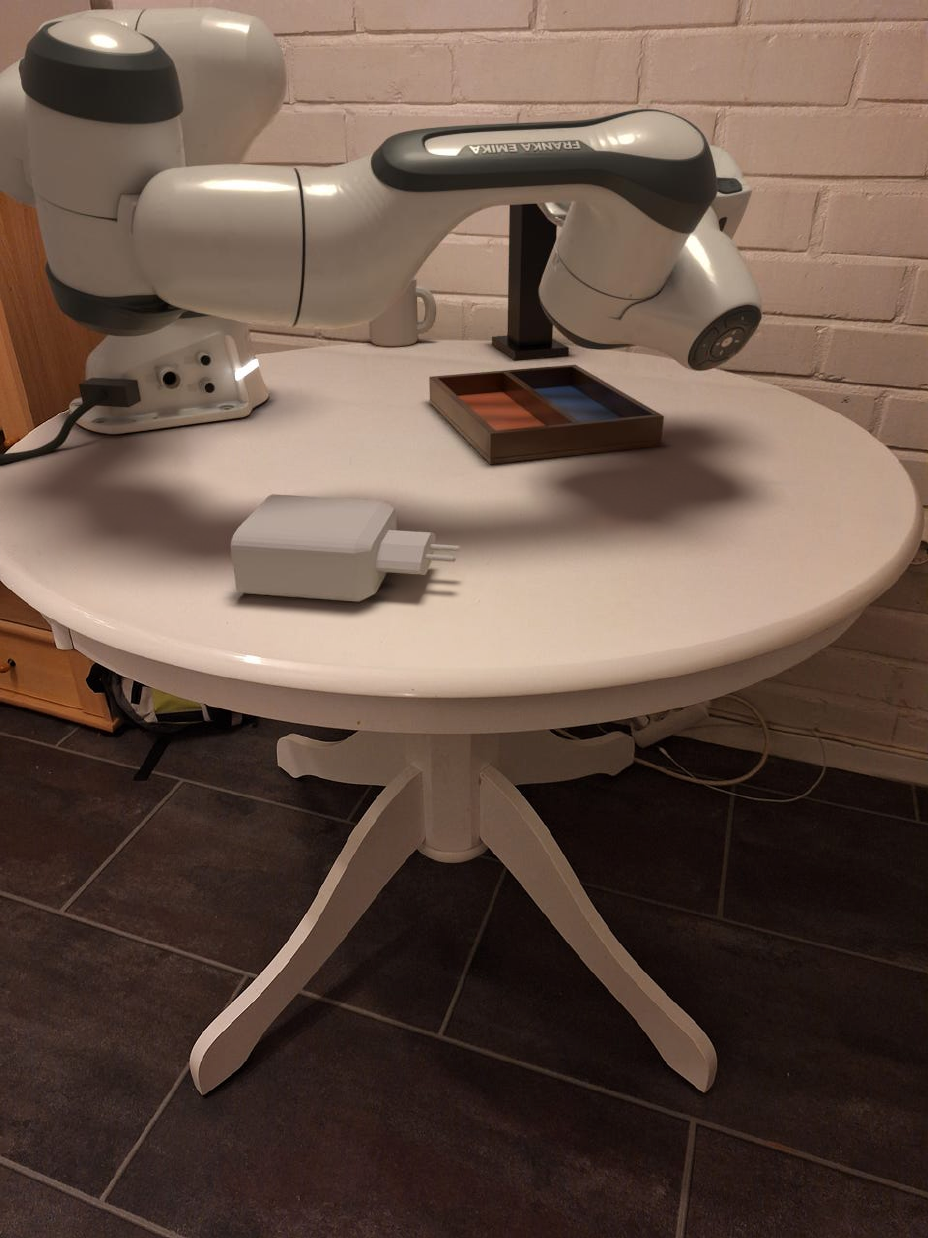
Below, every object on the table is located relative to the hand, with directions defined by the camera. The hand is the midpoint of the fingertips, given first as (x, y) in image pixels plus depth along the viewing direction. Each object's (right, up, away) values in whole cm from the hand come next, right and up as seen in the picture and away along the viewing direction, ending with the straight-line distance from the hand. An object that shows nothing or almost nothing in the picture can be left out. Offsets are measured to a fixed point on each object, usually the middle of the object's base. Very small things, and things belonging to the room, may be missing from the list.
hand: (608, 134), depth 90 cm
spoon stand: (-5, -9, +40) cm, 42 cm away
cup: (-23, -7, +46) cm, 52 cm away
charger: (-22, -45, -23) cm, 55 cm away
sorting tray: (-6, -26, +10) cm, 29 cm away
